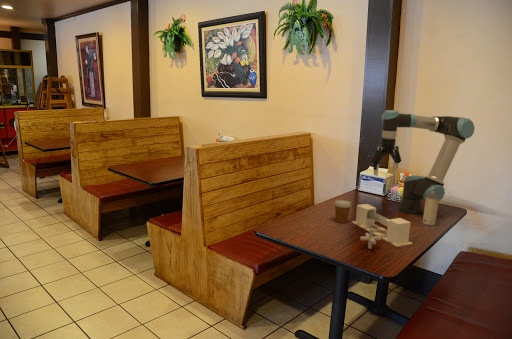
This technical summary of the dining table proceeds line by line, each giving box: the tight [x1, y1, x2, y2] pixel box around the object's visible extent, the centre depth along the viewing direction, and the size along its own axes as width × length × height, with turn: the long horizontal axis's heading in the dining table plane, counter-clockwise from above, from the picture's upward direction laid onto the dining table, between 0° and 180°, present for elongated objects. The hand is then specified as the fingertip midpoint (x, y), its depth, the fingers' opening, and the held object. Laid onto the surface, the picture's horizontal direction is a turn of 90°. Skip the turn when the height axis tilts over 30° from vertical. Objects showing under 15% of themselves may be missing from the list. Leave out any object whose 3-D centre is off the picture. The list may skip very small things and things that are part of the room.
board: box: [350, 220, 413, 248], centre depth 205 cm, size 37×10×1 cm, turn 23°
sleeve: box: [355, 203, 377, 227], centre depth 215 cm, size 8×7×11 cm
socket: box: [386, 217, 412, 244], centre depth 192 cm, size 7×8×11 cm
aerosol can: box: [422, 191, 440, 227], centre depth 218 cm, size 7×7×20 cm
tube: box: [367, 211, 390, 228], centre depth 201 cm, size 24×4×4 cm, turn 23°
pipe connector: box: [359, 228, 382, 250], centre depth 184 cm, size 10×10×10 cm
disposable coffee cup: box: [334, 199, 352, 224], centre depth 219 cm, size 10×10×12 cm
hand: (384, 174), depth 216 cm, fingers open, 13 cm apart
